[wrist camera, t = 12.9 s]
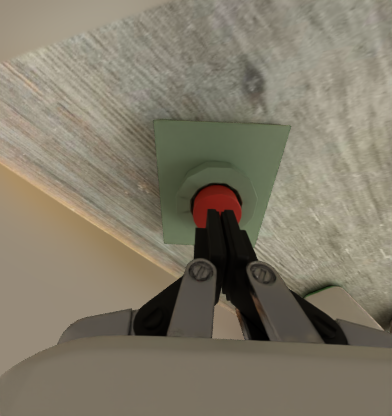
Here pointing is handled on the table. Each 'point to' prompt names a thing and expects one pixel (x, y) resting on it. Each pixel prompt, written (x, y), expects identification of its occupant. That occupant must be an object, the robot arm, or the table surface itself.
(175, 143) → the button box
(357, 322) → the cup
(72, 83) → the table surface
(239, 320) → the robot arm
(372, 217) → the table surface
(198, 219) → the button
